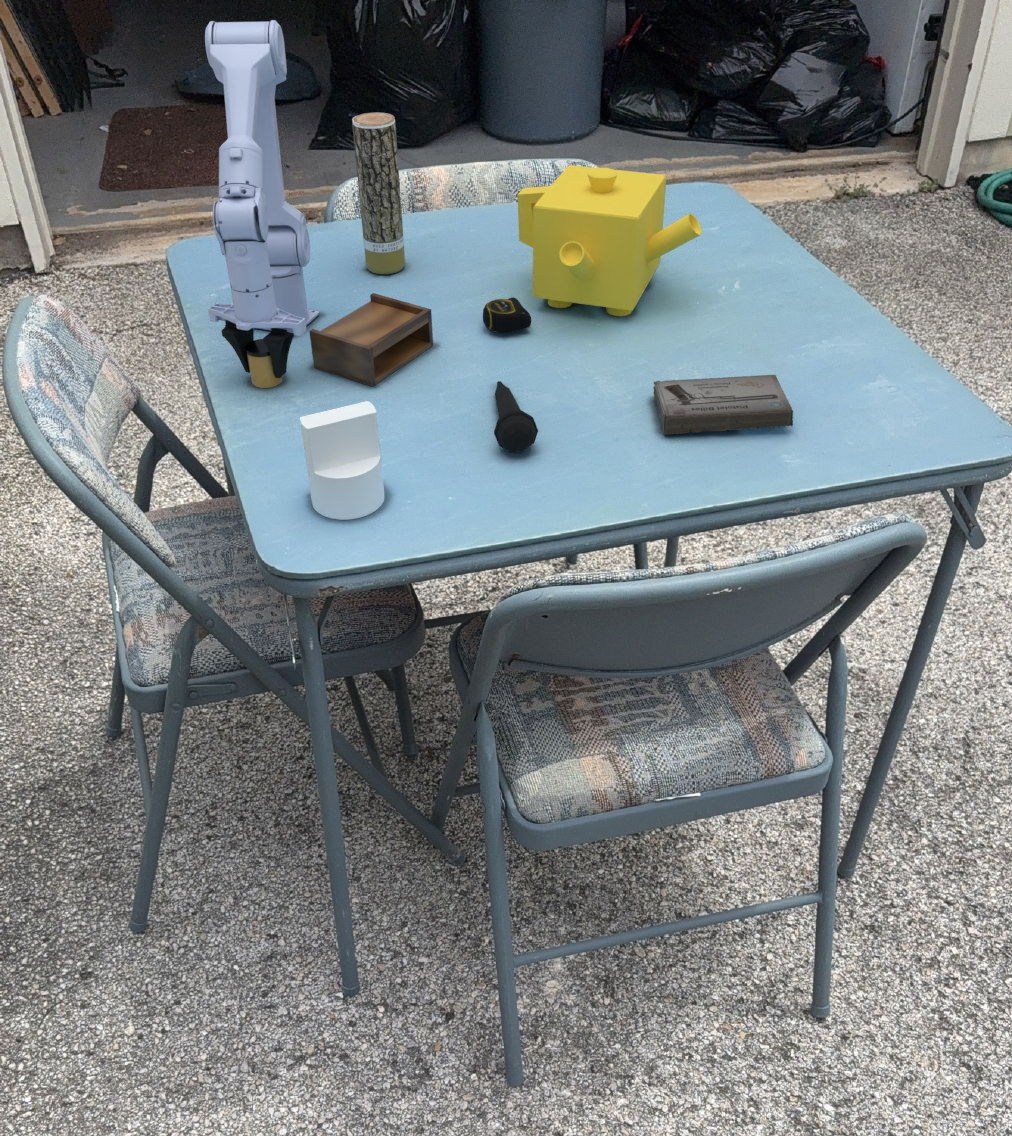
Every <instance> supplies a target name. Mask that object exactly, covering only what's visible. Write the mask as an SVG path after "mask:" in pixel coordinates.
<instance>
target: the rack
mask: <svg viewBox="0 0 1012 1136" xmlns="http://www.w3.org/2000/svg"><path fill="white" fill-rule="evenodd" d="M369 297H370V300H369V301H368V302H367V303H364V304H363V305H362V306H360V307H358V308H357V309H355V310H353V311H351V312H350V313H348V314H347V315H345V316H343V317H341V318H340V319H338V320H336V321H334V322H333V323H331V324H330V325H328V326H327V327H325V328H323V329H321V330H318V329H315V328H311V329H310V330H309V331H308V332H309V340H310V347H311V356H312V363H313V368H314V369H317V370H320V371H323V372H326V373H329V374H332V375H336V376H339V377H342V378H345V379H348V380H350V381H354V382H357V383H359V384H363V385H365V386H366V385H367V386H369V387H372V388H373V387H374V386H377V385H378V384H379V383H380V382H382V381H383V380H385V379H386V378H387V377H389V376H391V375H392V374H393V373H395V372H396V371H398V370H400V369H401V368H402V367H404V366H405V365H407V364H408V363H410V362H411V361H412V360H414V359H416V358H417V357H418V356H420V355H422V354H423V353H424V352H426V351H428V350H429V349H430V348H432V347H433V346H434V335H433V334H434V333H433V316H432V309H431V308H428V307H425V306H421V305H417V304H414V303H410V302H407V301H403V300H400V299H397V298H393V297H389V296H385V295H383V294H378V293H375V292H372V293H370V295H369Z"/></svg>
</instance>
